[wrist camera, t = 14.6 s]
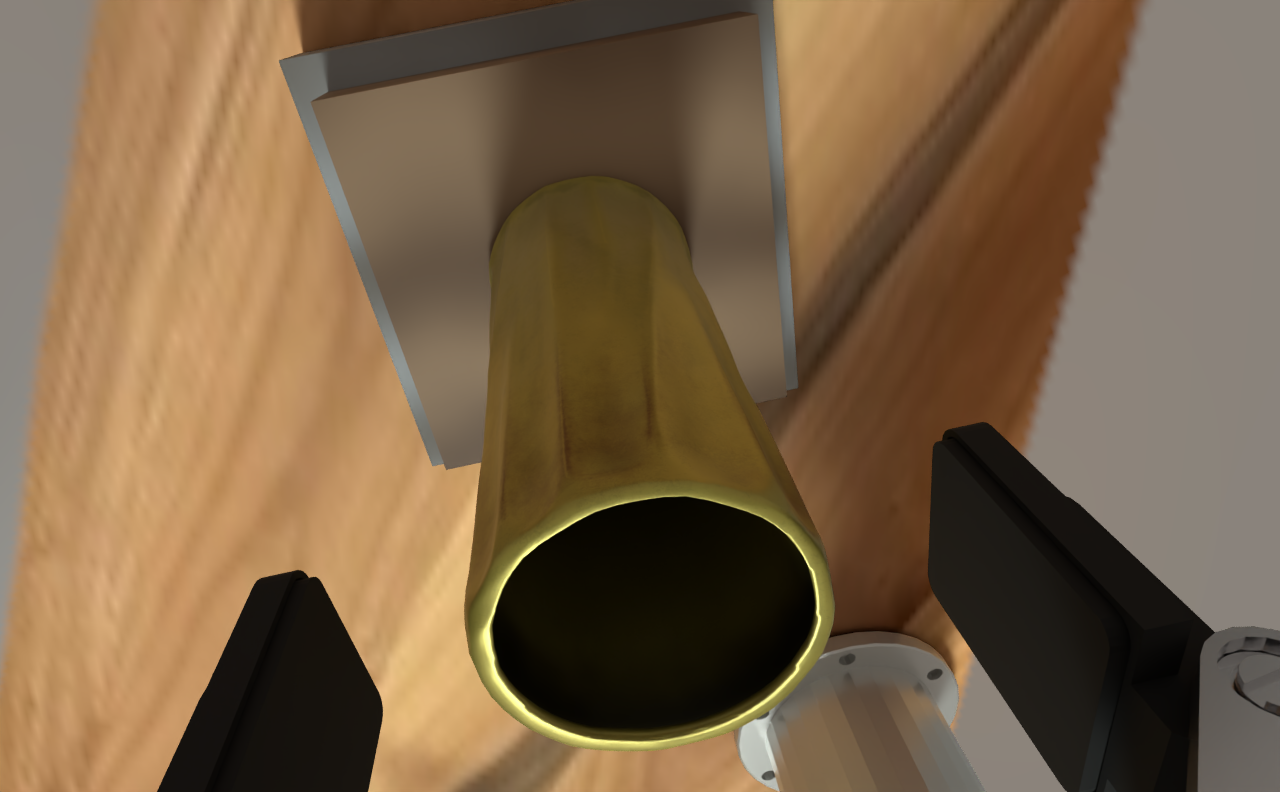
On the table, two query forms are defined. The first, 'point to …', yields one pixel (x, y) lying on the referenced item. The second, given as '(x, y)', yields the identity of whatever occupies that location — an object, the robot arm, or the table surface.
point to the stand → (550, 171)
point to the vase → (629, 492)
